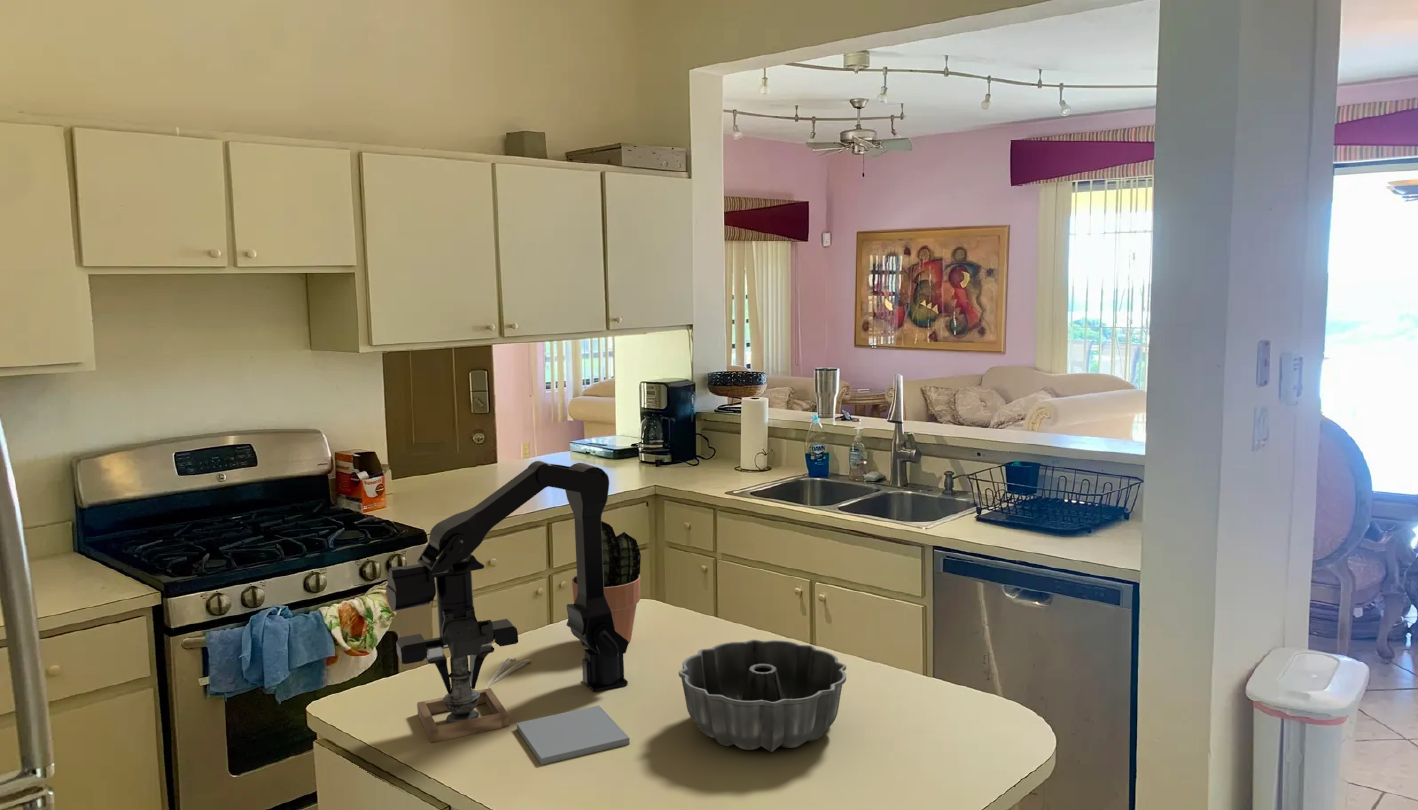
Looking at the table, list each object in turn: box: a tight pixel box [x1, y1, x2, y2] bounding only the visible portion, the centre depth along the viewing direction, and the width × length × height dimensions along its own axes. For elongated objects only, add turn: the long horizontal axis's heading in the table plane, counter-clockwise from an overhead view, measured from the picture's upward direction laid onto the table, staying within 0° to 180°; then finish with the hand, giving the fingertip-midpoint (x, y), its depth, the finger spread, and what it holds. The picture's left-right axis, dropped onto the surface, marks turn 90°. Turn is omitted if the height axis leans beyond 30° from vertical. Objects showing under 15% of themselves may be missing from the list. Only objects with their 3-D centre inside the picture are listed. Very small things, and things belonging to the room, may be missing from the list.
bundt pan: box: [678, 639, 847, 753], centre depth 158 cm, size 26×26×10 cm
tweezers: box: [485, 657, 531, 688], centre depth 183 cm, size 17×5×2 cm, turn 164°
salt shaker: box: [443, 655, 480, 724], centre depth 164 cm, size 6×6×12 cm
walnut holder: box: [416, 687, 510, 744], centre depth 165 cm, size 12×12×2 cm
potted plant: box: [571, 520, 642, 644], centre depth 198 cm, size 14×14×25 cm
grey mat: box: [516, 704, 631, 766], centre depth 157 cm, size 14×14×1 cm
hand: (461, 690), depth 164 cm, fingers closed on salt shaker, 3 cm apart
